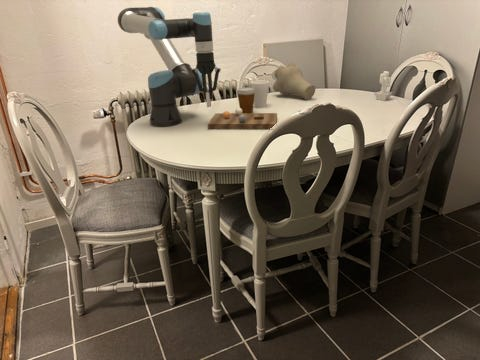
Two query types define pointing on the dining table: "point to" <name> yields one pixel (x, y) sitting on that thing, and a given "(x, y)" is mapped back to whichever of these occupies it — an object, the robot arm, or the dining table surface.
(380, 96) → the figurine
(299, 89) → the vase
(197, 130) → the dining table surface
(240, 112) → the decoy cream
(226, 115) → the ball
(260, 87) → the foam cup
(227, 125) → the board
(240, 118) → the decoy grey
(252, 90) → the disposable coffee cup
